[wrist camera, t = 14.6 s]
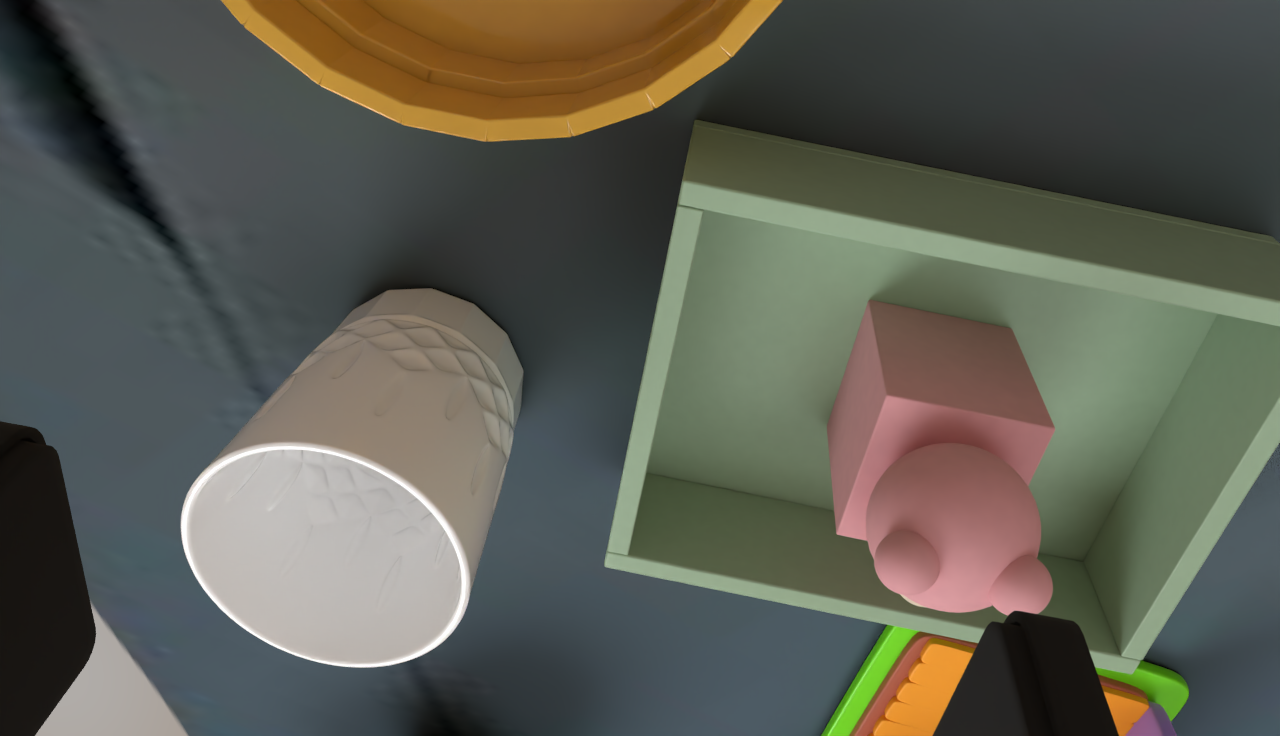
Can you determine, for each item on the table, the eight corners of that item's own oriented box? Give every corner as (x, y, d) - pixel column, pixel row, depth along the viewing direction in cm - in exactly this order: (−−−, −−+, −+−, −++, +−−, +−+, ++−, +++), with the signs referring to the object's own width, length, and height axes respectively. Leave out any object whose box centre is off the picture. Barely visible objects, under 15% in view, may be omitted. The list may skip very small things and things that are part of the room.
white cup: (452, 229, 32) (340, 396, 24) (584, 411, 35) (527, 615, 27) (276, 330, 35) (119, 512, 27) (413, 491, 38) (311, 699, 30)
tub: (694, 118, 30) (682, 179, 25) (1272, 236, 30) (1359, 317, 25) (622, 472, 37) (603, 567, 32) (1089, 567, 37) (1133, 676, 32)
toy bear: (868, 298, 31) (906, 497, 23) (1012, 328, 31) (1104, 538, 23) (822, 436, 34) (841, 659, 26) (955, 463, 34) (1017, 695, 26)
